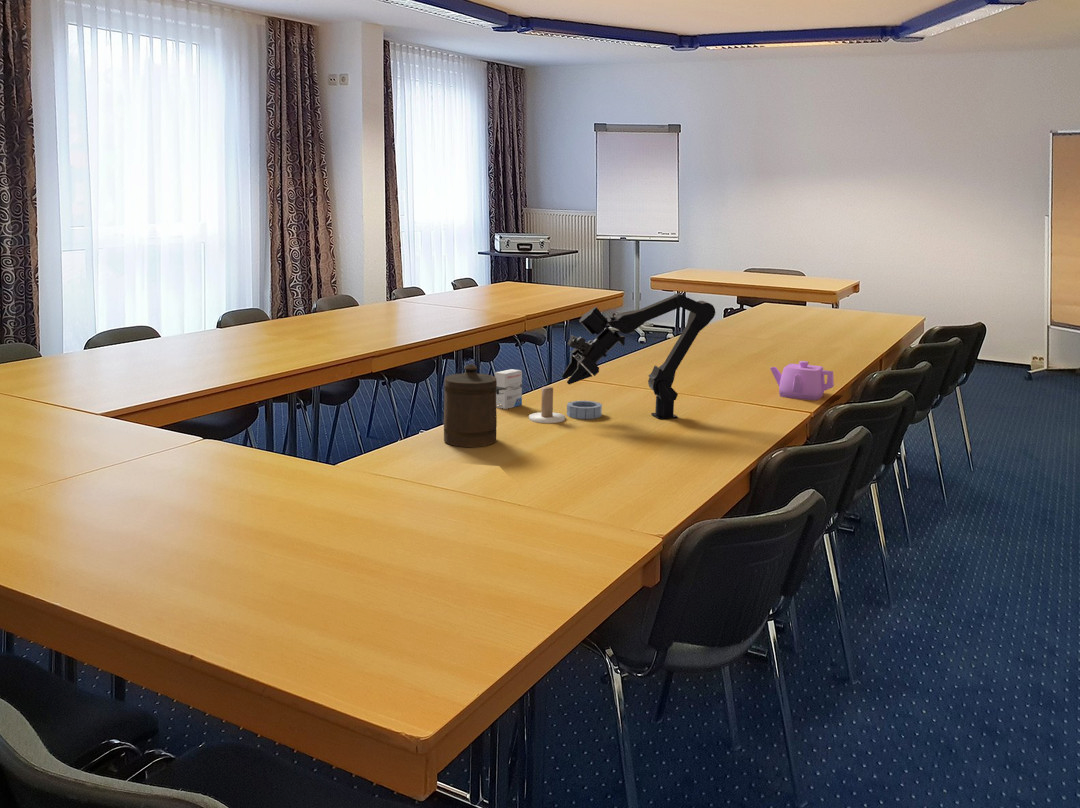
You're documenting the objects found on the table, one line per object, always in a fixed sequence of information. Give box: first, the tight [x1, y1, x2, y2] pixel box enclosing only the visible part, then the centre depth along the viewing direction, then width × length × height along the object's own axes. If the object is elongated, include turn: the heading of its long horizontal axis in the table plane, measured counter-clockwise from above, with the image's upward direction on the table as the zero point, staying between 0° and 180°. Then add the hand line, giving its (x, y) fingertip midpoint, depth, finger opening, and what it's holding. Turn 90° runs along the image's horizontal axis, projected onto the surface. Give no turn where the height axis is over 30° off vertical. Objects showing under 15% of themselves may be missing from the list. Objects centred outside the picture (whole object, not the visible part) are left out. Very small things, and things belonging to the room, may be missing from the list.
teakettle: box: [769, 360, 835, 401], centre depth 335 cm, size 17×17×12 cm
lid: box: [528, 386, 566, 424], centre depth 296 cm, size 11×11×10 cm
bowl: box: [566, 400, 603, 420], centre depth 302 cm, size 11×11×4 cm
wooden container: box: [443, 363, 498, 448], centre depth 268 cm, size 15×15×22 cm
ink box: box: [494, 368, 523, 410], centre depth 312 cm, size 8×5×12 cm, turn 141°
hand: (565, 380), depth 295 cm, fingers open, 9 cm apart
